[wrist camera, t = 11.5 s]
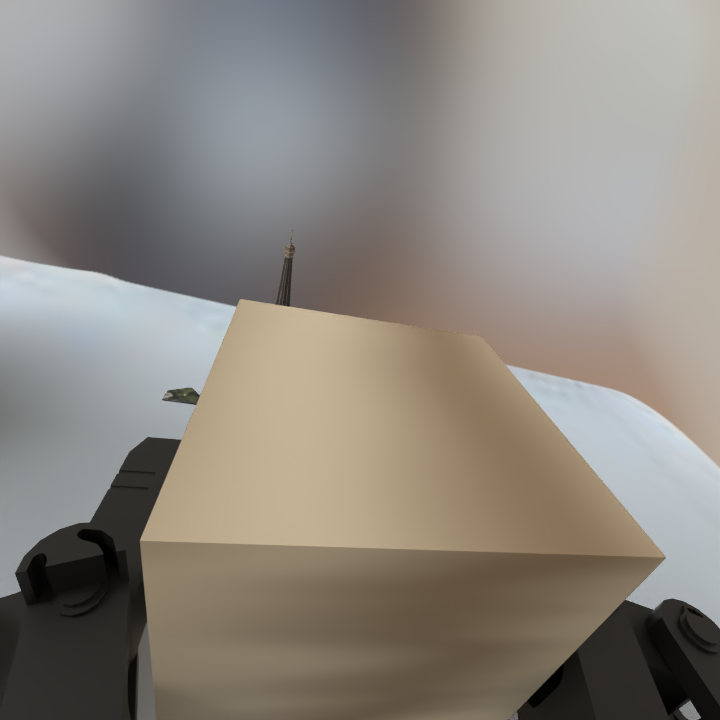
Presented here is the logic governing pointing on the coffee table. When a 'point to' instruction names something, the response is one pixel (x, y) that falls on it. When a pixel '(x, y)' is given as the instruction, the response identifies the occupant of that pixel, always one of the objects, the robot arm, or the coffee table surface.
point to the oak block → (373, 531)
